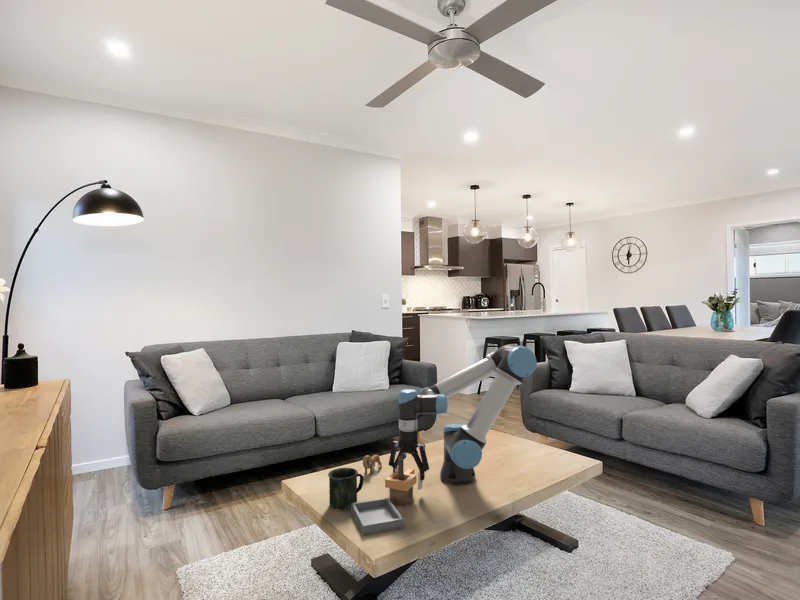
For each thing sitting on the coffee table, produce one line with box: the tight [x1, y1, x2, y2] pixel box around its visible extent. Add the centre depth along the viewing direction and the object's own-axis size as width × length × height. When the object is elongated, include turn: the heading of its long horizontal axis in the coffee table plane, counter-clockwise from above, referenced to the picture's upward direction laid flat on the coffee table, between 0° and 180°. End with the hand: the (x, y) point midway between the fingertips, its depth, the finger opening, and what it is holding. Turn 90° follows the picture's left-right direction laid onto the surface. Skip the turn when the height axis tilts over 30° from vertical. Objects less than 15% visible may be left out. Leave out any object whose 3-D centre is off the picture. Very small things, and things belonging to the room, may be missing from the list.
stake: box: [388, 453, 414, 507], centre depth 168 cm, size 9×9×18 cm
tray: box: [350, 497, 405, 536], centre depth 153 cm, size 14×18×3 cm
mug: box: [327, 467, 364, 511], centre depth 166 cm, size 11×15×12 cm
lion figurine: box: [362, 454, 383, 476], centre depth 199 cm, size 15×5×9 cm, turn 160°
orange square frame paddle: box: [384, 468, 418, 491], centre depth 170 cm, size 14×9×3 cm, turn 154°
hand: (408, 486), depth 174 cm, fingers open, 9 cm apart
